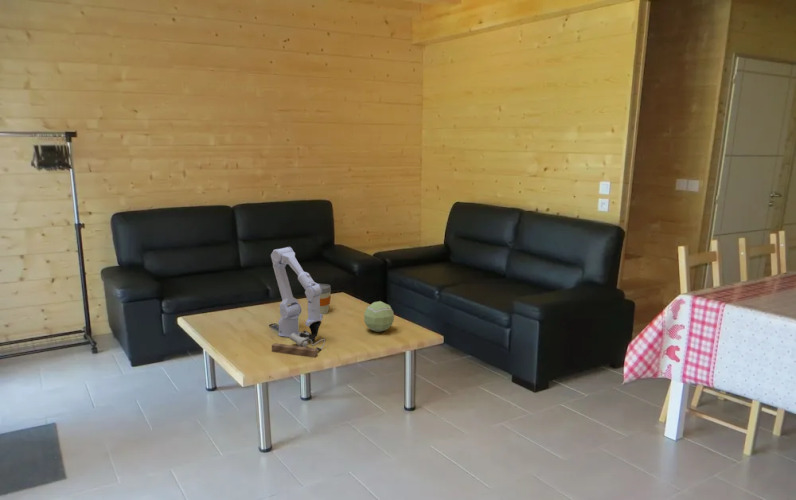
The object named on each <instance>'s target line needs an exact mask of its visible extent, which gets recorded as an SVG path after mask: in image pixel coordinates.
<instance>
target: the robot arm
mask: <svg viewBox="0 0 796 500" xmlns="http://www.w3.org/2000/svg"><path fill="white" fill-rule="evenodd" d="M270 258H271V262H272V268H273V271H274V275H275V279H276V281H277V286H278V289H279V293H280V296H281V300H282V301H281V302H280V303H279V305H278V306H279V313H280V316H281V317H279V318H278V319H279V320H278V334H277V335H278V336H277V337H286V338H290V335H291V334H293V333H295V334H297V335H298V336H300V333H301V332H302V331H300V328H299V326H300V325H299V317H300V315H301V313H302V307H301V304H299V303H300V302H299V300H298V299H297V298H295V297H294V295H293V293H292V288H291V285H290V281H289V277H288V274H287V271H286V267H287V265H288V266H289V267H290V268H291V269H292V271H294V272H295V274H296V275H297V281H298V282H299V283H300V285H301V286H302V287H303V289H304V290H305V291H304V295H305V296H306V300H307V315H308V316H307V319H306V321H305V322H304V323H305V327H308V328H309V330H310V333H311V334H316V337H318V333H319V329H320V326H321V324H322V321H323V318H324V316H323V315H324V314H320V295H321V293H322V288H321V286H320V284H321V283H317V282H315V280H313V278H312V276H311V274H310V273H309V272H307V271H304V270H303V267H302V266H301V264H300V263H299V262H298V260H297V258H296V252H294V250H293V248H292V247H291V246H286V247H282V248H276V249H273V251H272V252H271V254H270Z"/></svg>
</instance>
